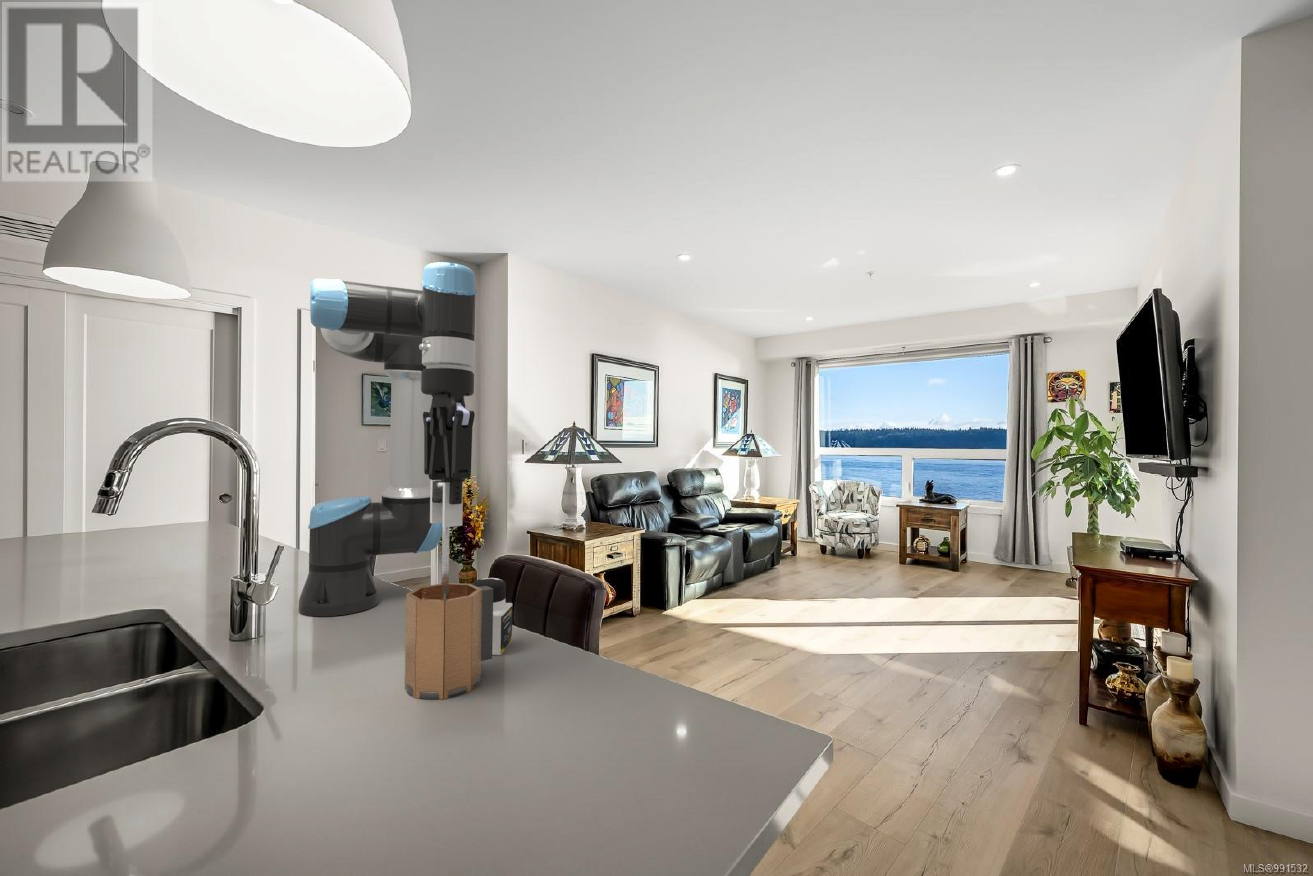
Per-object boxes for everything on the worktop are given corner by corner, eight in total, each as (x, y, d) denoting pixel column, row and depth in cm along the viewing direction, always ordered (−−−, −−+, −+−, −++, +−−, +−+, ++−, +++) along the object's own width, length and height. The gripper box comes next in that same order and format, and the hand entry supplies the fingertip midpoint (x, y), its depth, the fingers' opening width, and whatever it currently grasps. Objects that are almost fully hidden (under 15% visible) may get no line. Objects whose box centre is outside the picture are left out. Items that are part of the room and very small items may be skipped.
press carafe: (395, 682, 90) (397, 590, 90) (473, 662, 98) (475, 577, 98) (421, 706, 82) (423, 605, 82) (504, 682, 90) (505, 590, 90)
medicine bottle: (501, 656, 101) (502, 585, 101) (459, 655, 101) (461, 584, 101) (512, 641, 108) (513, 576, 108) (473, 640, 108) (474, 575, 108)
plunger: (409, 625, 90) (411, 480, 89) (458, 615, 95) (460, 479, 95) (428, 638, 84) (431, 484, 84) (479, 627, 89) (481, 482, 89)
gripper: (402, 370, 93) (400, 519, 93) (447, 362, 80) (444, 534, 80) (449, 374, 98) (447, 516, 98) (498, 367, 85) (495, 529, 85)
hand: (445, 523), depth 89 cm, fingers closed on plunger, 4 cm apart
